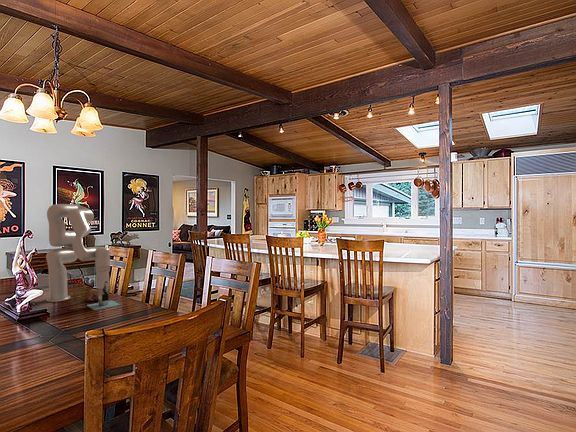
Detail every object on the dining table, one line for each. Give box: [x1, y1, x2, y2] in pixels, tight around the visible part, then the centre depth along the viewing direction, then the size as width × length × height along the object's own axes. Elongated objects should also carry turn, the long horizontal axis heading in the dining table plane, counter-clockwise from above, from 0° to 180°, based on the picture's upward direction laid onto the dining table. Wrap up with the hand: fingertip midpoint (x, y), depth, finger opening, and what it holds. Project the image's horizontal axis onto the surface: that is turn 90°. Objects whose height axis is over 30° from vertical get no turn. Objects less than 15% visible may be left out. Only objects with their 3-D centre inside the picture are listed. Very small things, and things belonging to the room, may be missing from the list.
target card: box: [86, 300, 121, 311], centre depth 203 cm, size 14×14×1 cm
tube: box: [97, 288, 109, 305], centre depth 202 cm, size 5×5×10 cm
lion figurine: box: [84, 286, 112, 302], centre depth 215 cm, size 15×5×9 cm, turn 107°
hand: (103, 299), depth 203 cm, fingers open, 5 cm apart
